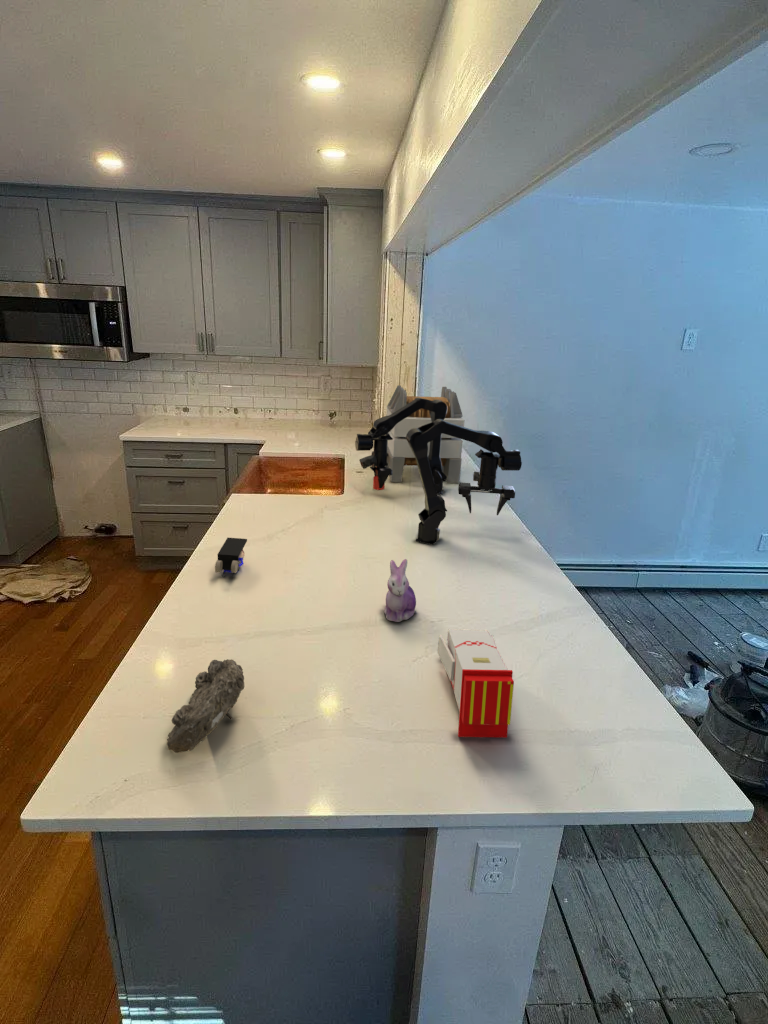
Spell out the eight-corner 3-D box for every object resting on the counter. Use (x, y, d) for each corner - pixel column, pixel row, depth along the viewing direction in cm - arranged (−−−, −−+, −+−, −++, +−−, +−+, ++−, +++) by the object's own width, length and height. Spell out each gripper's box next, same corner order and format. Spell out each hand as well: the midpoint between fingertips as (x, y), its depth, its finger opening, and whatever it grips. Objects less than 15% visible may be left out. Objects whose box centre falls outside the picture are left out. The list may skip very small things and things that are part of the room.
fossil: (192, 660, 117) (244, 628, 112) (224, 691, 120) (276, 661, 115) (142, 746, 98) (202, 712, 93) (182, 779, 101) (242, 748, 96)
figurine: (392, 627, 141) (395, 572, 136) (374, 608, 149) (376, 556, 144) (425, 619, 145) (429, 566, 140) (405, 601, 154) (408, 550, 149)
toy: (488, 613, 130) (523, 677, 101) (484, 667, 133) (517, 744, 104) (435, 612, 130) (455, 676, 101) (432, 666, 133) (451, 743, 103)
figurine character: (238, 584, 162) (249, 557, 175) (236, 562, 158) (247, 536, 172) (215, 584, 161) (227, 556, 175) (212, 561, 158) (225, 535, 171)
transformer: (382, 463, 289) (386, 382, 275) (445, 464, 293) (451, 384, 279) (390, 482, 257) (394, 392, 243) (460, 483, 261) (468, 394, 247)
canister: (374, 490, 237) (374, 478, 236) (372, 486, 242) (372, 475, 240) (385, 490, 238) (386, 478, 237) (383, 486, 243) (383, 475, 241)
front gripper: (513, 465, 196) (508, 508, 202) (459, 462, 198) (456, 504, 203) (517, 474, 186) (512, 519, 191) (460, 470, 187) (456, 515, 193)
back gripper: (356, 445, 241) (355, 480, 246) (366, 456, 224) (365, 493, 229) (382, 444, 244) (380, 479, 249) (393, 455, 227) (391, 492, 232)
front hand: (483, 513), depth 195 cm, fingers open, 9 cm apart
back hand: (379, 486), depth 240 cm, fingers closed on canister, 5 cm apart
